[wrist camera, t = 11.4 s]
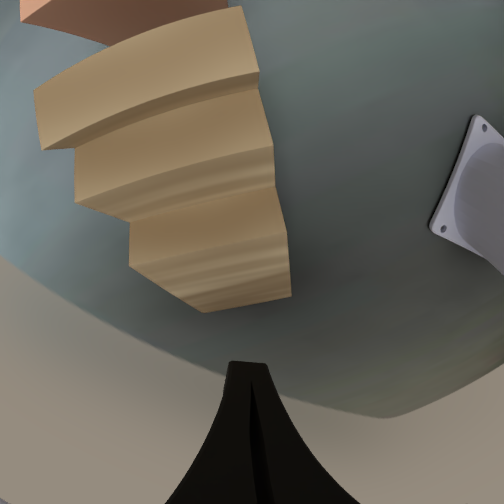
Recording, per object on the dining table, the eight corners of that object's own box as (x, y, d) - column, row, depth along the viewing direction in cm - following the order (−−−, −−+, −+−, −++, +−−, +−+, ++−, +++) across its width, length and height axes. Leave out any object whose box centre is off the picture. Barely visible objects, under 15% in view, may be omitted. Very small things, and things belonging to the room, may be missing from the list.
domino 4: (291, 296, 16) (286, 231, 8) (202, 313, 16) (129, 265, 9) (285, 269, 16) (275, 186, 9) (199, 286, 17) (130, 222, 9)
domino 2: (254, 118, 12) (259, 71, 5) (150, 146, 13) (41, 150, 5) (247, 86, 12) (241, 5, 4) (143, 115, 12) (33, 90, 4)
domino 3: (276, 216, 14) (273, 144, 6) (176, 238, 14) (74, 203, 6) (269, 185, 14) (258, 88, 6) (171, 208, 14) (75, 148, 6)
